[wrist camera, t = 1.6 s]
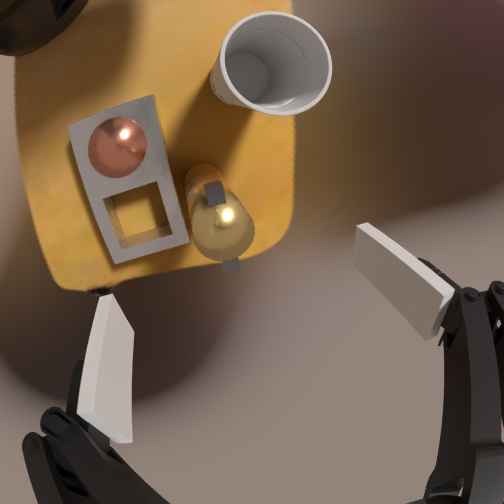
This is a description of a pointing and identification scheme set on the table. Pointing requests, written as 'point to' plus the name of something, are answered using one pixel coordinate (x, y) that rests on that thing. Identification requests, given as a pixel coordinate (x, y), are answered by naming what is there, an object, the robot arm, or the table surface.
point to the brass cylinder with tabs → (217, 217)
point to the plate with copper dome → (127, 173)
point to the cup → (272, 65)
